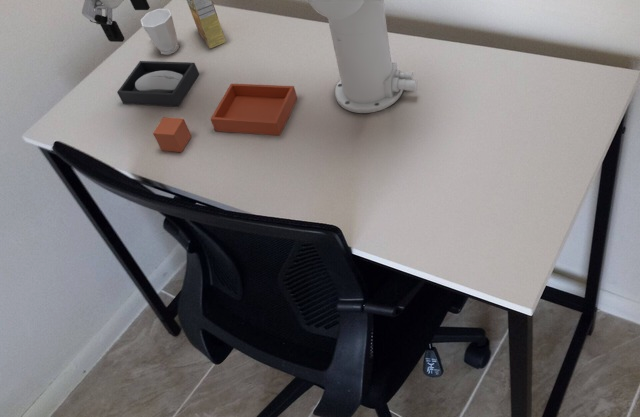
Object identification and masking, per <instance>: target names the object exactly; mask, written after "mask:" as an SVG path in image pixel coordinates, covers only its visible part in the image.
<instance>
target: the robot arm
mask: <svg viewBox="0 0 640 417" xmlns="http://www.w3.org/2000/svg"><path fill="white" fill-rule="evenodd" d="M124 1H125V0H84V1H83V5H82V9H81V15H82V16H84V18H86V19H88V20H89V22H90V23H93V24H96V25H100V27H101V29H102V31H103V32H104V35H105V37H106V38H107V40H108V42H111V43H113V42H114V43H123V42H124V41H125V36H124V33H123V32H122V30H121V28H120V26H119V24H118V22H117V21H116V20H113V10H115V9H117V8H119V7H120V5H122V3H123V2H124ZM129 1H130V4H131V6H132V8H133V10H135V11H149V10H150V8H151V6H150V5H149V2H148V0H129ZM307 2H308V3H309V5H310V6H311V8H312V9H313V10H314V11H315V12H316V13H317V14H319V15H321V16H323V17H325V18H327V21H328V26H329V32H330V36H331V41H332V46H333V50H334V54H335V59H336V65H337V69H338V73H339V80H338V82H337V83H336V85H335V88H334V95H335V99H336V102H337V104H338V105H339V106H340V107H342V108H343V109H344V110H346V111H349V112H352V113H358V114H371V113H376V112H379V111H383V110H385V109H387V108H389V107H390V106H392V105H393V104H395V103H396V102H397V101H398V100H399V99H400V98H401V96H402V95H403V92H404V91H406V92H407V91H408V92H409V91H411V92H416V91H417V90H418V89H417V88H418V80H417V79H414V72H412V71H405V72H404V71H401V70H398V63H397V62H393V61H392V56H391V55H392V54H391V49H390V48H391V47H390V40H389V32H388V26H387V20H386V9H385V2H384V0H307ZM103 10H104V12H105V13H104V15H103Z"/></svg>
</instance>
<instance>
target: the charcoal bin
mask: <svg viewBox="0 0 640 417" xmlns="http://www.w3.org/2000/svg"><path fill="white" fill-rule="evenodd" d="M155 71H173V72H176V73H179V74H181V75H183V77H182V79H181V80H180V82H179V83H178V85H177V86H176V88H175V89H174V91H173V92H172V93H159V92H140V91H138V90H137V89H136V87H135V82H136V81H137V80H138V79H139V78H140V77H142V76H143V75H146V74H148V73H151V72H155ZM199 76H200V71H199V70H198V68H197V65H196V62H186V61H184V62H183V61H155V60H152V61H151V60H139V61H138V63H137V64H136V65H135V67H134V68H133V69H132V71H131V72H130V74H129V75H128V77H126V79H125V81H124V82H123V84H121V86H120V87H119V89H118V90H117V91H116V92H117V96H119V99H120V101H121V102H122V104H124V105H141V106H143V105H144V106H157V107H158V106H159V107H176V108H179V107H180V106H181V104H182V102H183V101H184V99H185V97H187V95H188V93H189V92H190V90H191V89H192V87H193V85H194V84H195V82H196V81H197V79H198V77H199Z"/></svg>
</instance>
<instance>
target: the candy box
mask: <svg viewBox="0 0 640 417" xmlns="http://www.w3.org/2000/svg"><path fill="white" fill-rule="evenodd" d="M186 3H187V5H188V8H189V10H190V13H191V15H192V19H193V21H194V24H195V26H196V30H197V31H198V34H200V37H201V38H202V39H203V41H204V42H205V44H206V45H207V46H208V48H209V49H210V50H212V49H214V48H215V47H217V46H220V45H223V44H225V43H226V42H227V41H226V38H225V35H224V31H223V29H222V24H221V23H220V20H219V17H218V14H217V11H216V7H215V5H214V2H213V0H186Z"/></svg>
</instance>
